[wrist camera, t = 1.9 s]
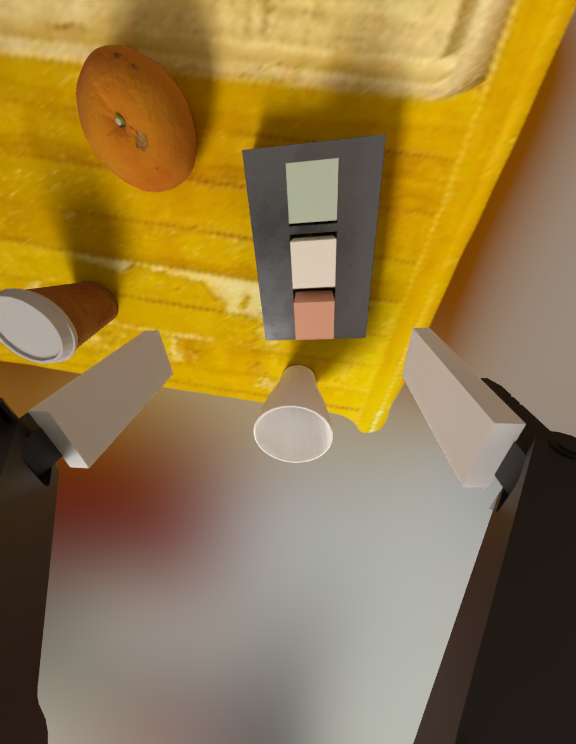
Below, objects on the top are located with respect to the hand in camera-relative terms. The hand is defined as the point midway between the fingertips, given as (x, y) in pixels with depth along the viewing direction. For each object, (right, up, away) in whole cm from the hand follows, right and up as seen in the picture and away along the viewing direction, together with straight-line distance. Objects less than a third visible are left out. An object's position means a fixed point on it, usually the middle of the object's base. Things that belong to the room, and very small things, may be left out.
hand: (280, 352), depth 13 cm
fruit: (-14, +26, +16) cm, 33 cm away
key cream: (+3, +13, +17) cm, 22 cm away
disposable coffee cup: (-30, +10, +27) cm, 41 cm away
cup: (+2, -2, +31) cm, 31 cm away
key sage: (+3, +18, +14) cm, 23 cm away
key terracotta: (+4, +8, +21) cm, 22 cm away
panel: (+4, +15, +20) cm, 25 cm away
